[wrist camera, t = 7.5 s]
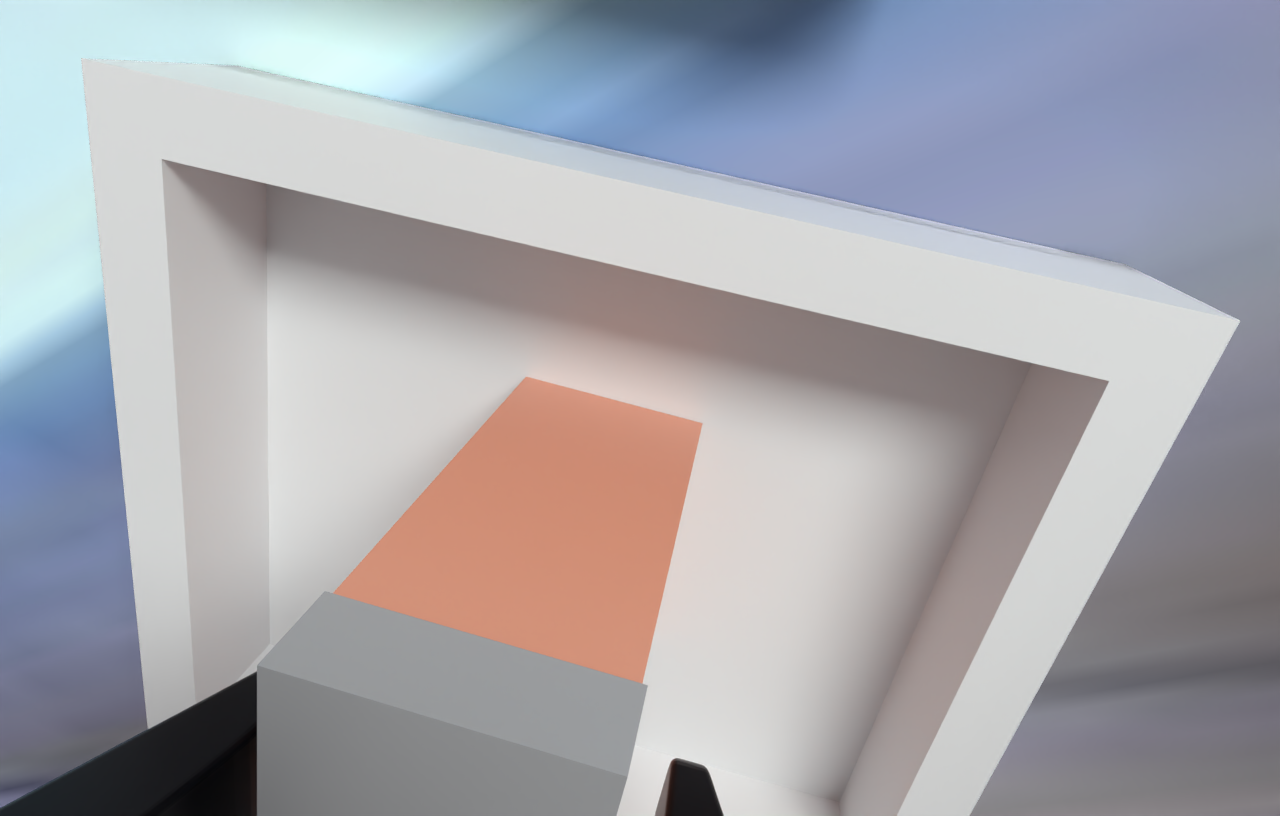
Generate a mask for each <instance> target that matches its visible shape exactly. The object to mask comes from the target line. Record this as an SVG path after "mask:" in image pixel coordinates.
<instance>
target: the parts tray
mask: <svg viewBox="0 0 1280 816" xmlns="http://www.w3.org/2000/svg"><path fill="white" fill-rule="evenodd" d="M81 61H82V71H83V81H84V91H85V101H86V111H87V121H88V131H89V141H90V151H91V162H92V172H93V182H94V192H95V202H96V212H97V222H98V232H99V242H100V252H101V262H102V272H103V282H104V292H105V303H106V313H107V323H108V333H109V343H110V353H111V363H112V373H113V383H114V393H115V403H116V413H117V423H118V433H119V443H120V454H121V464H122V474H123V484H124V494H125V504H126V514H127V524H128V534H129V544H130V554H131V564H132V574H133V584H134V594H135V605H136V615H137V625H138V635H139V645H140V655H141V665H142V675H143V685H144V695H145V705H146V715H147V725H148V729H149V728H151V727H153V726H155V725H157V724H159V723H161V722H162V721H164V720H166V719H168V718H170V717H172V716H174V715H176V714H177V713H179V712H181V711H183V710H185V709H187V708H189V707H190V706H192V705H194V704H196V703H198V702H200V701H202V700H204V699H205V698H207V697H209V696H211V695H213V694H215V693H217V692H219V691H220V690H222V689H224V688H226V687H228V686H230V685H232V684H233V683H235V682H237V681H239V680H241V679H243V678H245V677H247V676H248V675H250V674H252V673H254V672H256V671H257V665H258V664H259V663H260V661H261V660H262V659H263V658H264V657H265V656H266V655H267V654H268V653H269V652H270V651H271V649H272V648H273V647H274V646H275V645H276V644H277V643H278V642H279V641H280V640H281V638H282V637H283V636H284V635H285V634H286V633H287V632H288V631H289V630H290V629H291V627H292V626H293V625H294V624H295V623H296V622H297V621H298V620H299V619H300V618H301V617H302V615H303V614H304V613H305V612H306V611H307V610H308V609H309V608H310V607H311V606H312V604H313V603H314V602H315V601H316V600H317V599H318V598H319V597H320V596H321V595H322V593H323V592H324V591H326V592H330V593H333V592H334V591H335V590H336V589H337V588H338V587H339V586H340V585H341V583H342V582H343V581H344V580H345V579H346V578H347V577H348V576H349V574H350V573H351V572H352V571H353V570H354V569H355V568H356V567H357V565H358V564H359V563H360V562H361V561H362V560H363V559H364V558H365V556H366V555H367V554H368V553H369V552H370V551H371V550H372V549H373V548H374V546H375V545H376V544H377V543H378V542H379V541H380V540H381V539H382V537H383V536H384V535H385V534H386V533H387V532H388V531H389V530H390V528H391V527H392V526H393V525H394V524H395V523H396V522H397V521H398V520H399V518H400V517H401V516H402V515H403V514H404V513H405V512H406V511H407V509H408V508H409V507H410V506H411V505H412V504H413V503H414V502H415V500H416V499H417V498H418V497H419V496H420V495H421V494H422V493H423V491H424V490H425V489H426V488H427V487H428V486H429V485H430V484H431V483H432V481H433V480H434V479H435V478H436V477H437V476H438V475H439V474H440V472H441V471H442V470H443V469H444V468H445V467H446V466H447V465H448V463H449V462H450V461H451V460H452V459H453V458H454V457H455V456H456V454H457V453H458V452H459V451H460V450H461V449H462V448H463V447H464V446H465V444H466V443H467V442H468V441H469V440H470V439H471V438H472V437H473V435H474V434H475V433H476V432H477V431H478V430H479V429H480V428H481V426H482V425H483V424H484V423H485V422H486V421H487V420H488V419H489V417H490V416H491V415H492V414H493V413H494V412H495V411H496V410H497V409H498V407H499V406H500V405H501V404H502V403H503V402H504V401H505V400H506V398H507V397H508V396H509V395H510V394H511V393H512V392H513V391H514V389H515V388H516V387H517V386H518V385H519V384H520V383H521V382H522V380H523V379H524V378H525V377H530V378H534V379H537V380H541V381H545V382H549V383H553V384H556V385H560V386H564V387H568V388H571V389H575V390H579V391H583V392H587V393H590V394H594V395H598V396H602V397H605V398H609V399H613V400H617V401H621V402H624V403H628V404H632V405H636V406H639V407H643V408H647V409H651V410H655V411H658V412H662V413H666V414H670V415H673V416H677V417H681V418H685V419H689V420H692V421H696V422H700V423H703V424H702V428H701V433H700V437H699V441H698V446H697V450H696V454H695V459H694V463H693V467H692V472H691V476H690V480H689V484H688V489H687V493H686V497H685V502H684V506H683V510H682V515H681V519H680V523H679V528H678V532H677V536H676V541H675V545H674V549H673V554H672V558H671V562H670V567H669V571H668V575H667V579H666V584H665V588H664V592H663V597H662V601H661V605H660V610H659V614H658V618H657V623H656V627H655V631H654V636H653V640H652V644H651V649H650V653H649V657H648V662H647V666H646V670H645V674H644V679H643V683H642V684H645V685H648V687H647V692H646V696H645V701H644V705H643V710H642V714H641V719H640V723H639V728H638V732H637V737H636V741H635V746H634V750H633V755H632V759H631V764H630V768H629V773H628V777H627V781H626V784H625V788H624V791H623V795H622V798H621V802H620V805H619V809H618V812H617V816H655V812H656V808H657V805H658V801H659V798H660V795H661V791H662V788H663V784H664V781H665V778H666V774H667V771H668V768H669V765H670V762H671V761H672V760H673V759H675V758H680V759H684V760H687V761H691V762H694V763H698V764H701V765H704V766H705V767H706V768H707V769H708V771H709V773H710V776H711V779H712V782H713V785H714V788H715V791H716V794H717V797H718V800H719V803H720V806H721V809H722V812H723V815H724V816H970V814H971V812H972V810H973V808H974V807H975V805H976V803H977V801H978V799H979V797H980V796H981V794H982V792H983V790H984V788H985V787H986V785H987V783H988V781H989V779H990V777H991V776H992V774H993V772H994V770H995V768H996V766H997V765H998V763H999V761H1000V759H1001V757H1002V755H1003V754H1004V752H1005V750H1006V748H1007V746H1008V744H1009V743H1010V741H1011V739H1012V737H1013V735H1014V734H1015V732H1016V730H1017V728H1018V726H1019V724H1020V723H1021V721H1022V719H1023V717H1024V715H1025V713H1026V712H1027V710H1028V708H1029V706H1030V704H1031V702H1032V701H1033V699H1034V697H1035V695H1036V693H1037V691H1038V690H1039V688H1040V686H1041V684H1042V682H1043V681H1044V679H1045V677H1046V675H1047V673H1048V671H1049V670H1050V668H1051V666H1052V664H1053V662H1054V660H1055V659H1056V657H1057V655H1058V653H1059V651H1060V649H1061V648H1062V646H1063V644H1064V642H1065V640H1066V638H1067V637H1068V635H1069V633H1070V631H1071V629H1072V627H1073V626H1074V624H1075V622H1076V620H1077V618H1078V617H1079V615H1080V613H1081V611H1082V609H1083V607H1084V606H1085V604H1086V602H1087V600H1088V598H1089V596H1090V595H1091V593H1092V591H1093V589H1094V587H1095V585H1096V584H1097V582H1098V580H1099V578H1100V576H1101V574H1102V573H1103V571H1104V569H1105V567H1106V565H1107V564H1108V562H1109V560H1110V558H1111V556H1112V554H1113V553H1114V551H1115V549H1116V547H1117V545H1118V543H1119V542H1120V540H1121V538H1122V536H1123V534H1124V532H1125V531H1126V529H1127V527H1128V525H1129V523H1130V521H1131V520H1132V518H1133V516H1134V514H1135V512H1136V511H1137V509H1138V507H1139V505H1140V503H1141V501H1142V500H1143V498H1144V496H1145V494H1146V492H1147V490H1148V489H1149V487H1150V485H1151V483H1152V481H1153V479H1154V478H1155V476H1156V474H1157V472H1158V470H1159V468H1160V467H1161V465H1162V463H1163V461H1164V459H1165V457H1166V456H1167V454H1168V452H1169V450H1170V448H1171V447H1172V445H1173V443H1174V441H1175V439H1176V437H1177V436H1178V434H1179V432H1180V430H1181V428H1182V426H1183V425H1184V423H1185V421H1186V419H1187V417H1188V415H1189V414H1190V412H1191V410H1192V408H1193V406H1194V404H1195V403H1196V401H1197V399H1198V397H1199V395H1200V394H1201V392H1202V390H1203V388H1204V386H1205V384H1206V383H1207V381H1208V379H1209V377H1210V375H1211V373H1212V372H1213V370H1214V368H1215V366H1216V364H1217V362H1218V361H1219V359H1220V357H1221V355H1222V353H1223V351H1224V350H1225V348H1226V346H1227V344H1228V342H1229V340H1230V339H1231V337H1232V335H1233V333H1234V331H1235V330H1236V328H1237V326H1238V324H1239V322H1240V320H1238V319H1236V318H1234V317H1232V316H1230V315H1228V314H1226V313H1224V312H1221V311H1219V310H1217V309H1215V308H1213V307H1211V306H1209V305H1207V304H1205V303H1203V302H1201V301H1199V300H1197V299H1195V298H1193V297H1191V296H1189V295H1187V294H1185V293H1183V292H1181V291H1179V290H1177V289H1175V288H1173V287H1170V286H1168V285H1166V284H1164V283H1162V282H1160V281H1158V280H1156V279H1154V278H1152V277H1150V276H1148V275H1146V274H1144V273H1142V272H1140V271H1138V270H1136V269H1134V268H1132V267H1130V266H1128V265H1126V264H1121V263H1117V262H1112V261H1108V260H1104V259H1099V258H1095V257H1090V256H1086V255H1081V254H1077V253H1072V252H1068V251H1063V250H1059V249H1054V248H1050V247H1045V246H1041V245H1037V244H1032V243H1028V242H1023V241H1019V240H1014V239H1010V238H1005V237H1001V236H996V235H992V234H987V233H983V232H978V231H974V230H970V229H965V228H961V227H956V226H952V225H947V224H943V223H938V222H934V221H929V220H925V219H920V218H916V217H911V216H907V215H902V214H898V213H894V212H889V211H885V210H880V209H876V208H871V207H867V206H862V205H858V204H853V203H849V202H844V201H840V200H835V199H831V198H827V197H822V196H818V195H813V194H809V193H804V192H800V191H795V190H791V189H786V188H782V187H777V186H773V185H768V184H764V183H760V182H755V181H751V180H746V179H742V178H737V177H733V176H728V175H724V174H719V173H715V172H710V171H706V170H701V169H697V168H692V167H688V166H684V165H679V164H675V163H670V162H666V161H661V160H657V159H652V158H648V157H643V156H639V155H634V154H630V153H625V152H621V151H617V150H612V149H608V148H603V147H599V146H594V145H590V144H585V143H581V142H576V141H572V140H567V139H563V138H558V137H554V136H549V135H545V134H541V133H536V132H532V131H527V130H523V129H518V128H514V127H509V126H505V125H500V124H496V123H491V122H487V121H482V120H478V119H474V118H469V117H465V116H460V115H456V114H451V113H447V112H442V111H438V110H433V109H429V108H424V107H420V106H415V105H411V104H407V103H402V102H398V101H393V100H389V99H384V98H380V97H375V96H371V95H366V94H362V93H357V92H353V91H348V90H344V89H339V88H335V87H331V86H326V85H322V84H317V83H313V82H308V81H304V80H299V79H295V78H290V77H286V76H281V75H277V74H272V73H268V72H264V71H259V70H255V69H250V68H246V67H241V66H235V65H214V64H193V63H172V62H150V61H129V60H108V59H87V58H81Z"/></svg>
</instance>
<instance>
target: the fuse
mask: <svg viewBox="0 0 1280 816" xmlns="http://www.w3.org/2000/svg"><path fill="white" fill-rule="evenodd" d="M702 424H703V423H700V422H696V421H692V420H689V419H685V418H681V417H677V416H673V415H670V414H666V413H662V412H658V411H655V410H651V409H647V408H643V407H639V406H636V405H632V404H628V403H624V402H621V401H617V400H613V399H609V398H605V397H602V396H598V395H594V394H590V393H587V392H583V391H579V390H575V389H571V388H568V387H564V386H560V385H556V384H553V383H549V382H545V381H541V380H537V379H534V378H530V377H525V378H524V379H523V380H522V382H521V383H520V384H519V385H518V386H517V387H516V388H515V389H514V391H513V392H512V393H511V394H510V395H509V396H508V397H507V398H506V400H505V401H504V402H503V403H502V404H501V405H500V406H499V407H498V409H497V410H496V411H495V412H494V413H493V414H492V415H491V416H490V417H489V419H488V420H487V421H486V422H485V423H484V424H483V425H482V426H481V428H480V429H479V430H478V431H477V432H476V433H475V434H474V435H473V437H472V438H471V439H470V440H469V441H468V442H467V443H466V444H465V446H464V447H463V448H462V449H461V450H460V451H459V452H458V453H457V454H456V456H455V457H454V458H453V459H452V460H451V461H450V462H449V463H448V465H447V466H446V467H445V468H444V469H443V470H442V471H441V472H440V474H439V475H438V476H437V477H436V478H435V479H434V480H433V481H432V483H431V484H430V485H429V486H428V487H427V488H426V489H425V490H424V491H423V493H422V494H421V495H420V496H419V497H418V498H417V499H416V500H415V502H414V503H413V504H412V505H411V506H410V507H409V508H408V509H407V511H406V512H405V513H404V514H403V515H402V516H401V517H400V518H399V520H398V521H397V522H396V523H395V524H394V525H393V526H392V527H391V528H390V530H389V531H388V532H387V533H386V534H385V535H384V536H383V537H382V539H381V540H380V541H379V542H378V543H377V544H376V545H375V546H374V548H373V549H372V550H371V551H370V552H369V553H368V554H367V555H366V556H365V558H364V559H363V560H362V561H361V562H360V563H359V564H358V565H357V567H356V568H355V569H354V570H353V571H352V572H351V573H350V574H349V576H348V577H347V578H346V579H345V580H344V581H343V582H342V583H341V585H340V586H339V587H338V588H337V589H336V590H335V591H334V592H333V593H330V592H326V591H324V592H323V593H322V595H321V596H320V597H319V598H318V599H317V600H316V601H315V602H314V603H313V604H312V606H311V607H310V608H309V609H308V610H307V611H306V612H305V613H304V614H303V615H302V617H301V618H300V619H299V620H298V621H297V622H296V623H295V624H294V625H293V626H292V627H291V629H290V630H289V631H288V632H287V633H286V634H285V635H284V636H283V637H282V638H281V640H280V641H279V642H278V643H277V644H276V645H275V646H274V647H273V648H272V649H271V651H270V652H269V653H268V654H267V655H266V656H265V657H264V658H263V659H262V660H261V661H260V663H259V664H258V665H257V816H617V812H618V809H619V805H620V802H621V798H622V795H623V791H624V788H625V784H626V781H627V777H628V773H629V768H630V764H631V759H632V755H633V750H634V746H635V741H636V737H637V732H638V728H639V723H640V719H641V714H642V710H643V705H644V701H645V696H646V692H647V687H648V685H645V684H642V683H643V679H644V674H645V670H646V666H647V662H648V657H649V653H650V649H651V644H652V640H653V636H654V631H655V627H656V623H657V618H658V614H659V610H660V605H661V601H662V597H663V592H664V588H665V584H666V579H667V575H668V571H669V567H670V562H671V558H672V554H673V549H674V545H675V541H676V536H677V532H678V528H679V523H680V519H681V515H682V510H683V506H684V502H685V497H686V493H687V489H688V484H689V480H690V476H691V472H692V467H693V463H694V459H695V454H696V450H697V446H698V441H699V437H700V433H701V428H702Z"/></svg>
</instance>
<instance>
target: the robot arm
mask: <svg viewBox="0 0 1280 816" xmlns="http://www.w3.org/2000/svg"><path fill="white" fill-rule="evenodd" d="M0 816H257V671H256V672H254V673H252V674H250V675H248V676H247V677H245V678H243V679H241V680H239V681H237V682H235V683H233V684H232V685H230V686H228V687H226V688H224V689H222V690H220V691H219V692H217V693H215V694H213V695H211V696H209V697H207V698H205V699H204V700H202V701H200V702H198V703H196V704H194V705H192V706H190V707H189V708H187V709H185V710H183V711H181V712H179V713H177V714H176V715H174V716H172V717H170V718H168V719H166V720H164V721H162V722H161V723H159V724H157V725H155V726H153V727H151V728H149V729H147V730H146V731H144V732H142V733H140V734H138V735H136V736H134V737H133V738H131V739H129V740H127V741H125V742H123V743H121V744H119V745H118V746H116V747H114V748H112V749H110V750H108V751H106V752H104V753H103V754H101V755H99V756H97V757H95V758H93V759H91V760H90V761H88V762H86V763H84V764H82V765H80V766H78V767H76V768H75V769H73V770H71V771H69V772H67V773H65V774H63V775H61V776H60V777H58V778H56V779H54V780H52V781H50V782H48V783H46V784H45V785H43V786H41V787H39V788H37V789H35V790H33V791H32V792H30V793H28V794H26V795H24V796H22V797H20V798H18V799H17V800H15V801H13V802H11V803H9V804H7V805H5V806H3V807H2V808H0ZM655 816H724V815H723V812H722V809H721V806H720V803H719V800H718V797H717V794H716V791H715V788H714V785H713V782H712V779H711V776H710V773H709V771H708V769H707V768H706V767H705V766H704V765H701V764H698V763H694V762H691V761H687V760H684V759H680V758H675V759H673V760H672V761H671V762H670V765H669V768H668V771H667V774H666V778H665V781H664V784H663V788H662V791H661V795H660V798H659V801H658V805H657V808H656V812H655Z"/></svg>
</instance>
